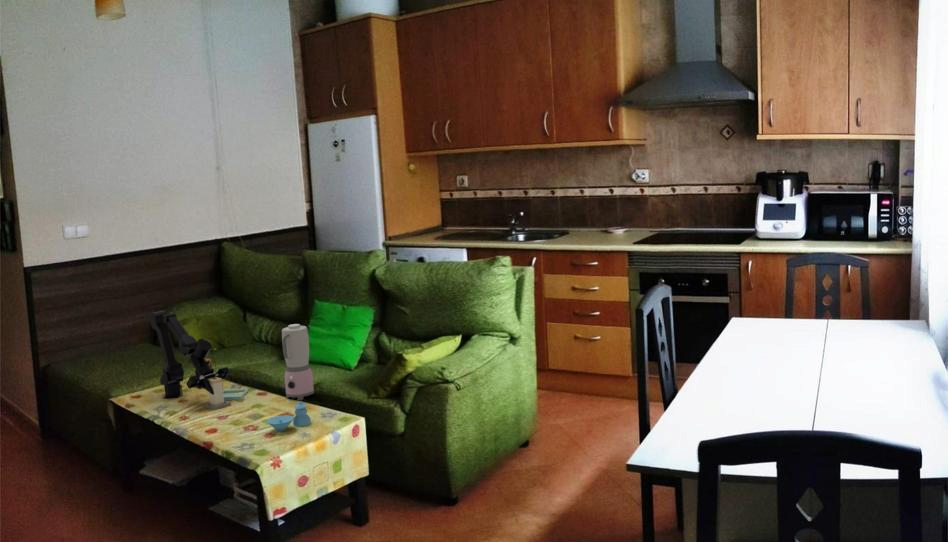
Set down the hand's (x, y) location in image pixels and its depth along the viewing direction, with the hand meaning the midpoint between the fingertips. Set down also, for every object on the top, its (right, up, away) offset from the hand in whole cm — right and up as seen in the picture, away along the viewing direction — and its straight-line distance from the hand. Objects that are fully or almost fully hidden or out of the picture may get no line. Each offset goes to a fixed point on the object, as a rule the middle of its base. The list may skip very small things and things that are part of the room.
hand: (217, 392), depth 350 cm
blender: (+32, -4, +10) cm, 34 cm away
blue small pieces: (+38, -9, -32) cm, 50 cm away
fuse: (-1, -6, +2) cm, 6 cm away
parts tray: (+1, -4, +16) cm, 16 cm away
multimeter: (-15, -2, +41) cm, 44 cm away
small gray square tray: (-1, -6, +2) cm, 7 cm away
